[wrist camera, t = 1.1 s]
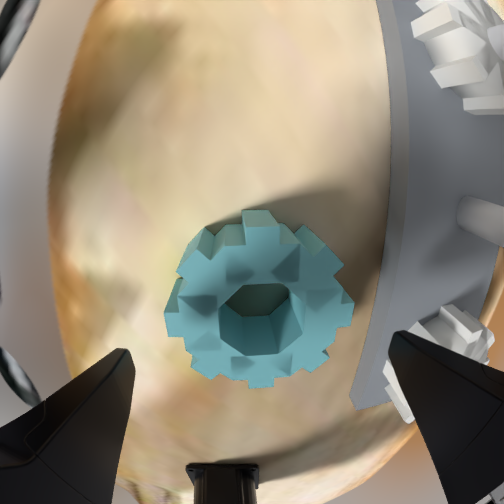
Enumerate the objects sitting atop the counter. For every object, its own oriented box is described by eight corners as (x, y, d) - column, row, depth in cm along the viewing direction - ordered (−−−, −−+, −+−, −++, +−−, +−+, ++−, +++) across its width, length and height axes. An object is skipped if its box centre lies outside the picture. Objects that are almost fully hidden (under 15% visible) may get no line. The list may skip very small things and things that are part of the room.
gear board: (442, 368, 17) (476, 410, 12) (349, 395, 16) (376, 456, 11) (476, 34, 8) (529, 21, 3) (371, -18, 8) (420, -63, 2)
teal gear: (320, 341, 14) (338, 378, 11) (187, 349, 14) (180, 389, 11) (334, 209, 12) (364, 225, 9) (170, 213, 11) (152, 231, 8)
